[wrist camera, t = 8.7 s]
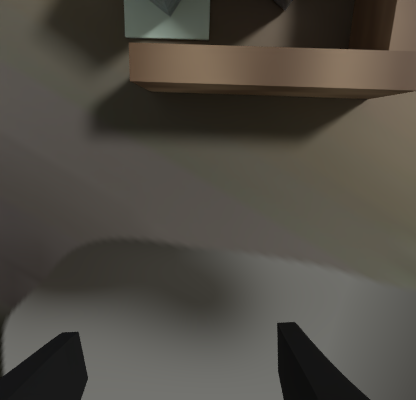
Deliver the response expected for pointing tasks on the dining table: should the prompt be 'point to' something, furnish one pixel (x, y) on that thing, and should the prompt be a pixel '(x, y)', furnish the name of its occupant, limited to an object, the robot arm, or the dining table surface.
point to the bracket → (168, 3)
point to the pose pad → (167, 20)
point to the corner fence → (293, 62)
